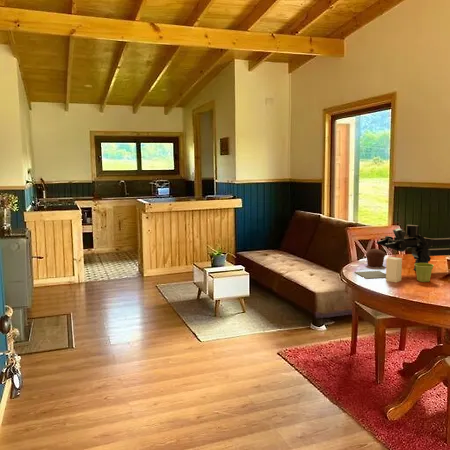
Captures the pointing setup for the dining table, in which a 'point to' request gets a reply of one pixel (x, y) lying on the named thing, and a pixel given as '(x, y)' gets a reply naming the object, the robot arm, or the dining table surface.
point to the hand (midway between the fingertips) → (380, 244)
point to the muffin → (375, 257)
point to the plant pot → (423, 271)
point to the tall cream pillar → (393, 269)
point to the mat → (371, 274)
